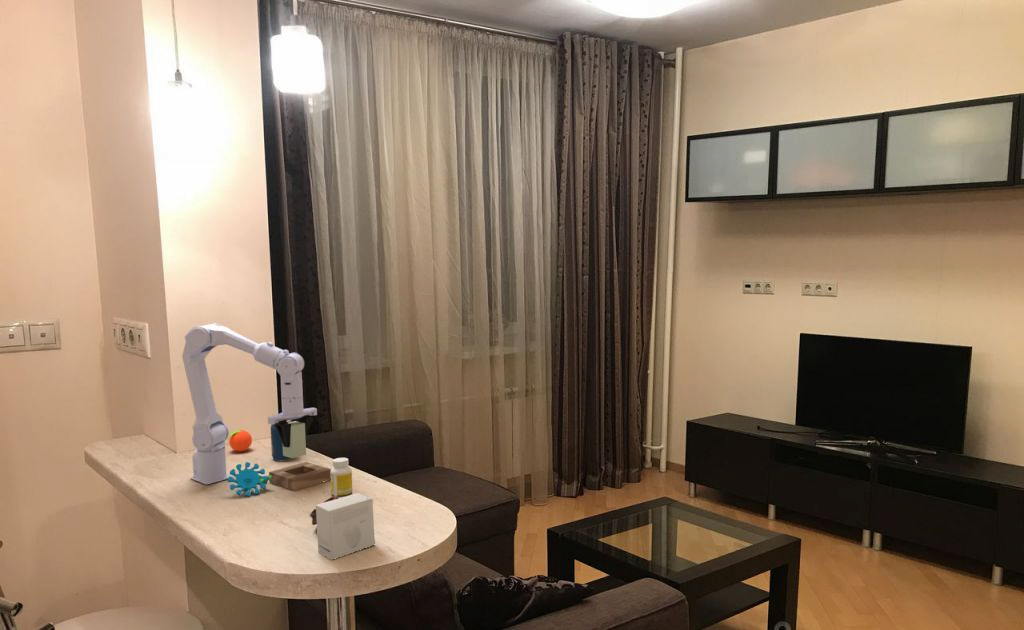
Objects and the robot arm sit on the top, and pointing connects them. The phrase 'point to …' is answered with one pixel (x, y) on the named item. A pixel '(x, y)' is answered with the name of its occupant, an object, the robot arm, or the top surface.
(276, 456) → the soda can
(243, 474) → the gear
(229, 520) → the top surface
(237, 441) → the clementine
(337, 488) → the supplement bottle
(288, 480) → the walnut collar
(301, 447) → the sage peg
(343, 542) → the skincare box
